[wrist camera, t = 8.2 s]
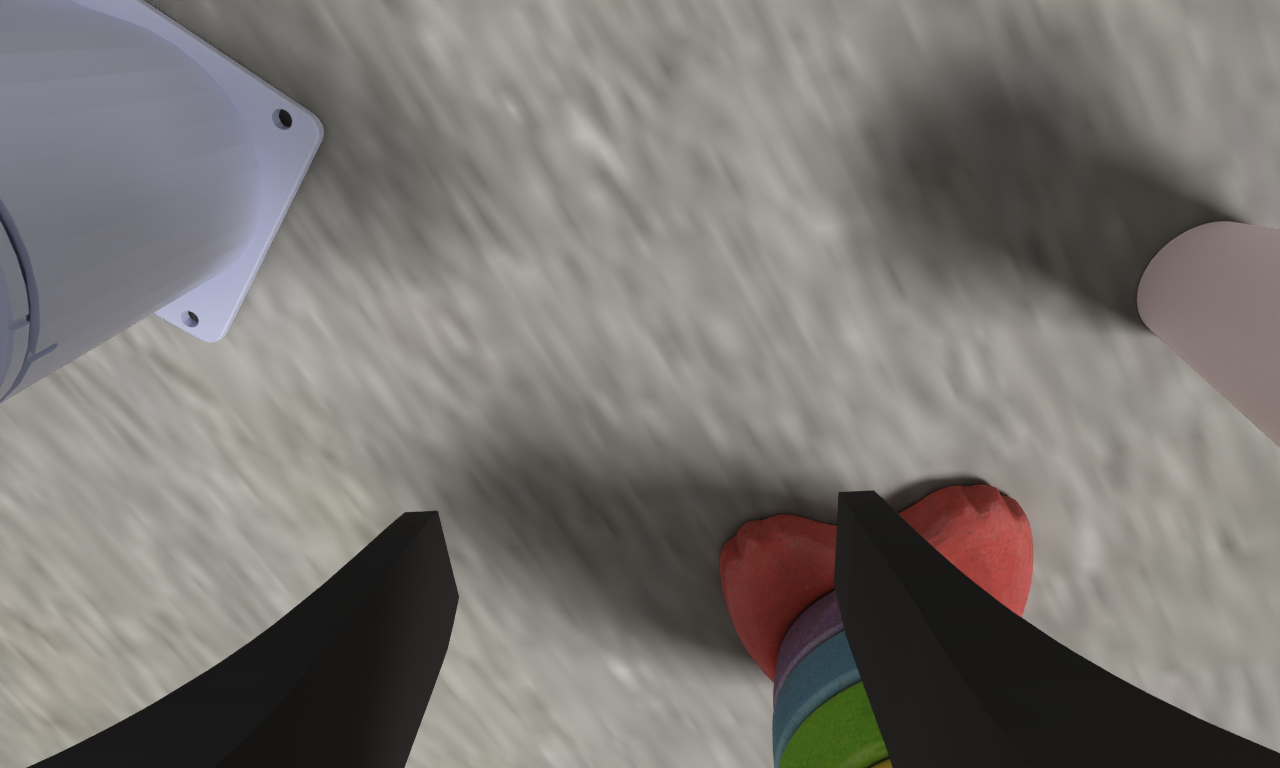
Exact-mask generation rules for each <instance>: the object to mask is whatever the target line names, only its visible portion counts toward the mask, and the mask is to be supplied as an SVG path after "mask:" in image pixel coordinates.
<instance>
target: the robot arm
mask: <svg viewBox="0 0 1280 768" xmlns="http://www.w3.org/2000/svg"><path fill="white" fill-rule="evenodd" d="M281 109H283V110H286V111H287V112H288V113H289V114H290V115H291V118H292V126H291V127H290V128H289V127H286V126H284V125H283V124H282V123H281V121H280V119H279V111H280V110H281ZM323 136H324V130H323V125H322V124H321V122H320V120H319V118H317V117H316V116H315V115H314V114H313V113H312V112H310V111H309V110H307V109H306V108H304V107H303V106H301V105H300V104H298V103H297V102H295V101H294V100H292V99H291V98H289V97H288V96H286V95H285V94H283V93H282V92H280V91H279V90H277V89H276V88H274V87H273V86H271V85H270V84H268V83H267V82H265V81H264V80H262V79H261V78H259V77H258V76H256V75H255V74H253V73H252V72H250V71H249V70H247V69H246V68H244V67H243V66H241V65H240V64H238V63H237V62H235V61H234V60H232V59H231V58H229V57H228V56H226V55H225V54H223V53H222V52H220V51H219V50H217V49H216V48H214V47H213V46H211V45H210V44H208V43H207V42H205V41H204V40H202V39H201V38H199V37H198V36H196V35H195V34H193V33H192V32H190V31H189V30H187V29H186V28H185V27H183V26H182V25H180V24H179V23H177V22H176V21H174V20H173V19H171V18H170V17H168V16H167V15H165V14H164V13H162V12H161V11H159V10H158V9H156V8H155V7H153V6H152V5H150V4H149V3H147V2H146V1H144V0H0V403H2V402H4V401H5V400H7V399H9V398H10V397H12V396H14V395H15V394H17V393H19V392H20V391H22V390H24V389H26V388H27V387H29V386H31V385H32V384H34V383H36V382H37V381H39V380H41V379H42V378H44V377H46V376H48V375H49V374H51V373H53V372H54V371H56V370H58V369H59V368H61V367H63V366H65V365H66V364H68V363H70V362H71V361H73V360H75V359H76V358H78V357H80V356H81V355H83V354H85V353H87V352H88V351H90V350H92V349H93V348H95V347H97V346H98V345H100V344H102V343H103V342H105V341H107V340H109V339H110V338H112V337H114V336H115V335H117V334H119V333H120V332H122V331H124V330H125V329H127V328H129V327H131V326H132V325H134V324H136V323H137V322H139V321H141V320H142V319H144V318H146V317H148V316H149V315H151V314H155V315H157V316H159V317H161V318H162V319H164V320H166V321H168V322H170V323H171V324H173V325H175V326H177V327H179V328H180V329H182V330H184V331H186V332H188V333H189V334H191V335H193V336H195V337H196V338H198V339H200V340H202V341H205V342H212V343H214V342H216V341H219V340H220V339H222V338H223V337H224V336H225V335H226V334H227V333H228V331H229V329H230V327H231V325H232V323H233V321H234V319H235V317H236V315H237V313H238V311H239V309H240V306H241V304H242V302H243V300H244V298H245V296H246V294H247V292H248V290H249V288H250V286H251V284H252V282H253V280H254V278H255V276H256V274H257V272H258V270H259V268H260V266H261V264H262V262H263V260H264V258H265V256H266V254H267V252H268V250H269V248H270V246H271V244H272V242H273V240H274V238H275V236H276V233H277V231H278V229H279V227H280V225H281V223H282V221H283V219H284V217H285V215H286V213H287V211H288V209H289V207H290V205H291V203H292V201H293V199H294V197H295V195H296V193H297V191H298V189H299V187H300V185H301V183H302V181H303V179H304V177H305V175H306V173H307V171H308V169H309V167H310V165H311V163H312V160H313V158H314V156H315V154H316V152H317V150H318V148H319V146H320V144H321V142H322V140H323ZM188 311H190V312H193V313H194V314H195V315H196V316H197V317H198V319H199V322H196V321H193V320H192V319H191V318H190V316H189V314H188ZM834 586H835V590H836V595H837V600H838V604H839V609H840V613H841V618H842V622H843V626H844V631H845V635H846V638H847V641H848V643H849V646H850V649H851V652H852V655H853V658H854V660H855V663H856V666H857V669H858V672H859V675H860V677H861V680H862V683H863V686H864V688H865V691H866V694H867V697H868V700H869V702H870V705H871V708H872V711H873V713H874V716H875V719H876V722H877V724H878V727H879V730H880V733H881V735H882V738H883V741H884V744H885V747H886V749H887V752H888V755H889V758H890V762H891V765H892V768H1280V753H1278V752H1276V751H1273V750H1271V749H1269V748H1266V747H1264V746H1262V745H1259V744H1257V743H1255V742H1252V741H1250V740H1247V739H1245V738H1243V737H1240V736H1238V735H1236V734H1233V733H1231V732H1229V731H1226V730H1224V729H1222V728H1219V727H1217V726H1215V725H1212V724H1210V723H1208V722H1206V721H1204V720H1201V719H1199V718H1197V717H1195V716H1193V715H1191V714H1189V713H1187V712H1185V711H1183V710H1181V709H1179V708H1177V707H1175V706H1173V705H1171V704H1169V703H1167V702H1165V701H1162V700H1160V699H1158V698H1156V697H1154V696H1152V695H1150V694H1148V693H1146V692H1145V691H1143V690H1141V689H1139V688H1137V687H1135V686H1133V685H1131V684H1130V683H1128V682H1126V681H1124V680H1122V679H1120V678H1118V677H1116V676H1115V675H1113V674H1111V673H1110V672H1108V671H1106V670H1104V669H1103V668H1101V667H1099V666H1097V665H1096V664H1094V663H1092V662H1091V661H1089V660H1087V659H1085V658H1084V657H1082V656H1080V655H1078V654H1077V653H1075V652H1073V651H1072V650H1070V649H1069V648H1067V647H1065V646H1064V645H1062V644H1060V643H1059V642H1057V641H1056V640H1054V639H1053V638H1051V637H1050V636H1048V635H1047V634H1045V633H1044V632H1042V631H1041V630H1039V629H1038V628H1036V627H1035V626H1033V625H1032V624H1030V623H1029V622H1027V621H1026V620H1024V619H1023V618H1021V617H1020V616H1018V615H1017V614H1016V613H1014V612H1013V611H1011V610H1010V609H1009V608H1007V607H1006V606H1005V605H1003V604H1002V603H1000V602H999V601H998V600H997V599H995V598H994V597H993V596H991V595H990V594H989V593H988V592H986V591H985V590H984V589H983V588H981V587H980V586H979V585H977V584H976V583H975V582H974V581H972V580H971V579H970V578H969V577H967V576H966V575H965V574H964V573H963V572H961V571H960V570H959V569H958V568H957V567H956V566H954V565H953V564H952V563H951V562H950V561H949V560H948V559H946V558H945V557H944V556H943V555H942V554H941V553H940V552H939V551H937V550H936V549H935V548H934V547H933V546H932V545H931V544H930V543H929V542H928V541H926V540H925V539H924V538H923V537H922V536H921V535H920V534H919V533H918V532H917V531H916V530H915V529H914V528H913V527H912V526H911V525H909V524H908V523H907V522H906V521H905V520H904V519H903V518H902V517H901V516H900V515H899V514H898V513H897V512H896V511H895V510H894V509H893V508H892V507H891V506H890V505H889V504H888V503H887V502H886V501H885V500H884V499H883V498H881V497H880V496H879V495H878V494H877V493H876V492H875V491H853V492H839V497H838V515H837V533H836V551H835V569H834ZM458 599H459V595H458V591H457V587H456V583H455V579H454V575H453V571H452V567H451V563H450V559H449V555H448V551H447V546H446V542H445V538H444V534H443V530H442V526H441V522H440V518H439V514H438V511H424V512H405V513H404V514H403V515H401V516H400V517H399V518H398V519H396V520H395V521H394V522H393V523H392V524H391V525H389V526H388V527H387V528H386V529H385V530H384V531H383V532H382V533H380V534H379V535H378V536H377V537H376V538H375V539H374V540H373V541H372V542H370V543H369V544H368V545H367V546H366V547H365V548H364V549H363V550H362V551H360V552H359V553H358V554H357V555H356V556H355V557H354V558H353V559H351V560H350V561H349V562H348V563H347V564H346V565H345V566H344V567H342V568H341V569H340V570H339V571H338V572H337V573H336V574H334V575H333V576H332V577H331V578H330V579H329V580H328V581H327V582H325V583H324V584H323V585H322V586H321V587H319V588H318V589H317V590H316V591H314V592H313V593H312V594H311V595H310V596H308V597H307V598H306V599H305V600H303V601H302V602H301V603H300V604H298V605H297V606H296V607H295V608H293V609H292V610H291V611H290V612H289V613H287V614H286V615H285V616H284V617H282V618H281V619H280V620H279V621H277V622H276V623H275V624H274V625H272V626H271V627H270V628H268V629H267V630H266V631H264V632H263V633H261V634H260V635H259V636H257V637H256V638H255V639H253V640H252V641H251V642H249V643H248V644H246V645H245V646H243V647H242V648H240V649H239V650H237V651H236V652H235V653H233V654H232V655H230V656H229V657H227V658H226V659H224V660H223V661H222V662H220V663H218V664H217V665H215V666H214V667H212V668H211V669H209V670H208V671H206V672H204V673H203V674H201V675H199V676H198V677H196V678H195V679H193V680H191V681H190V682H188V683H186V684H185V685H183V686H181V687H180V688H178V689H176V690H175V691H173V692H171V693H170V694H168V695H167V696H165V697H163V698H162V699H160V700H158V701H157V702H155V703H153V704H152V705H150V706H148V707H146V708H145V709H143V710H141V711H139V712H137V713H135V714H134V715H132V716H130V717H128V718H126V719H124V720H123V721H121V722H119V723H117V724H115V725H113V726H111V727H110V728H108V729H106V730H104V731H102V732H100V733H98V734H96V735H94V736H92V737H90V738H88V739H86V740H84V741H82V742H80V743H78V744H76V745H74V746H72V747H70V748H68V749H66V750H64V751H62V752H60V753H58V754H56V755H54V756H51V757H49V758H47V759H45V760H43V761H40V762H38V763H36V764H34V765H32V766H29V767H27V768H404V767H405V764H406V762H407V759H408V756H409V754H410V751H411V748H412V745H413V743H414V740H415V737H416V735H417V732H418V729H419V726H420V724H421V721H422V718H423V716H424V713H425V710H426V707H427V705H428V702H429V699H430V697H431V694H432V691H433V688H434V686H435V683H436V680H437V677H438V675H439V672H440V669H441V666H442V663H443V661H444V658H445V655H446V652H447V649H448V645H449V641H450V636H451V632H452V628H453V623H454V619H455V614H456V609H457V604H458Z"/></svg>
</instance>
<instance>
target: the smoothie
mask: <svg viewBox="0 0 1280 768" xmlns="http://www.w3.org/2000/svg"><path fill="white" fill-rule="evenodd" d="M1137 307H1138V312H1139V315H1140V317H1141V319H1142V321H1143V322H1144V324H1145V325H1146V326H1147V327H1148V328H1149V329H1150V330H1151V331H1152V332H1153V333H1154V334H1155V335H1157V336H1158V337H1159V338H1160V339H1161V340H1162V341H1163V342H1164V343H1165V344H1166V345H1168V346H1169V347H1170V348H1171V349H1172V350H1173V351H1174V352H1175V353H1176V354H1177V355H1178V356H1180V357H1181V358H1182V359H1183V360H1184V361H1185V362H1186V363H1187V364H1188V365H1189V366H1191V367H1192V368H1193V369H1194V370H1195V371H1196V372H1197V373H1198V374H1199V375H1200V376H1201V377H1203V378H1204V379H1205V380H1206V381H1207V382H1208V383H1209V384H1210V385H1211V386H1212V387H1214V388H1215V389H1216V390H1217V391H1218V392H1219V393H1220V394H1221V395H1222V396H1223V397H1225V398H1226V399H1227V400H1228V401H1229V402H1230V403H1231V404H1232V405H1233V406H1234V407H1235V408H1237V409H1238V410H1239V411H1240V412H1241V413H1242V414H1243V415H1244V416H1245V417H1246V418H1248V419H1249V420H1250V421H1251V422H1252V423H1253V424H1254V425H1255V426H1256V427H1257V428H1258V429H1260V430H1261V431H1262V432H1263V433H1264V434H1265V435H1266V436H1267V437H1268V438H1269V439H1271V440H1272V441H1273V442H1274V443H1275V444H1276V445H1277V446H1278V447H1279V448H1280V230H1279V229H1273V228H1267V227H1261V226H1255V225H1249V224H1244V223H1238V222H1230V221H1219V222H1211V223H1207V224H1203V225H1200V226H1197V227H1194V228H1192V229H1190V230H1188V231H1186V232H1184V233H1182V234H1180V235H1179V236H1177V237H1176V238H1174V239H1173V240H1171V241H1170V242H1169V243H1168V244H1166V245H1165V246H1164V247H1163V248H1162V249H1161V250H1160V251H1159V252H1158V253H1157V254H1156V255H1155V256H1154V258H1153V259H1152V260H1151V262H1150V263H1149V265H1148V266H1147V268H1146V270H1145V271H1144V273H1143V275H1142V278H1141V280H1140V283H1139V287H1138V292H1137Z"/></svg>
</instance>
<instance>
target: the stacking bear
mask: <svg viewBox="0 0 1280 768" xmlns="http://www.w3.org/2000/svg"><path fill="white" fill-rule="evenodd" d="M899 515H900V516H901V517H902V518H903V519H904V520H905V521H906V522H907V523H908V524H909V525H911V526H912V527H913V528H914V529H915V530H916V531H917V532H918V533H919V534H920V535H921V536H922V537H923V538H924V539H925V540H926V541H928V542H929V543H930V544H931V545H932V546H933V547H934V548H935V549H936V550H937V551H939V552H940V553H941V554H942V555H943V556H944V557H945V558H946V559H948V560H949V561H950V562H951V563H952V564H953V565H954V566H956V567H957V568H958V569H959V570H960V571H961V572H963V573H964V574H965V575H966V576H967V577H969V578H970V579H971V580H972V581H974V582H975V583H976V584H977V585H979V586H980V587H981V588H983V589H984V590H985V591H986V592H988V593H989V594H990V595H991V596H993V597H994V598H995V599H997V600H998V601H999V602H1000V603H1002V604H1003V605H1005V606H1006V607H1007V608H1009V609H1010V610H1011V611H1013V612H1014V613H1016V614H1017V615H1018V616H1020V617H1022V614H1023V611H1024V608H1025V605H1026V602H1027V599H1028V595H1029V591H1030V586H1031V580H1032V571H1033V541H1032V533H1031V528H1030V524H1029V521H1028V518H1027V516H1026V514H1025V513H1024V511H1023V509H1022V508H1021V506H1020V505H1019V503H1018V502H1017V501H1016V500H1015V499H1013V498H1011V497H1008V496H1003V495H1001V494H1000V492H999V491H998V490H997V489H996V488H994V487H992V486H989V485H972V486H951V487H946V488H943V489H940V490H938V491H936V492H934V493H932V494H930V495H928V496H927V497H925V498H924V499H922V500H921V501H919V502H918V503H916V504H915V505H913V506H911V507H910V508H908V509H906V510H905V511H903V512H901V513H899ZM836 533H837V525H829V524H825V523H820V522H817V521H813V520H810V519H806V518H803V517H799V516H794V515H785V514H783V515H776V516H773V517H770V518H768V519H765V520H755V521H749V522H747V523H745V524H744V525H743V526H742V527H741V528H740V529H739V531H738V533H737V535H736V536H735V537H733V538H732V539H730V540H729V541H728V542H727V543H726V544H725V546H724V547H723V549H722V552H721V555H720V561H719V568H720V576H721V584H722V589H723V593H724V598H725V601H726V605H727V609H728V611H729V614H730V617H731V620H732V622H733V625H734V627H735V630H736V632H737V634H738V636H739V638H740V640H741V641H742V643H743V645H744V647H745V648H746V650H747V651H748V653H749V654H750V655H751V657H752V658H753V660H754V661H755V662H756V664H757V665H758V666H759V667H760V668H761V670H762V671H763V672H764V673H765V674H766V675H767V676H768V677H769V679H770V680H771V681H772V682H773V683H774V690H773V706H774V713H773V727H772V730H773V757H774V768H892V765H891V762H890V758H889V755H888V752H887V749H886V747H885V744H884V741H883V738H882V735H881V733H880V730H879V727H878V724H877V722H876V719H875V716H874V713H873V711H872V708H871V705H870V702H869V700H868V697H867V694H866V691H865V688H864V686H863V683H862V680H861V677H860V675H859V672H858V669H857V666H856V663H855V660H854V658H853V655H852V652H851V649H850V646H849V643H848V641H847V638H846V635H845V631H844V626H843V622H842V618H841V613H840V609H839V604H838V600H837V595H836V590H835V586H834V569H835V551H836Z"/></svg>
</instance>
